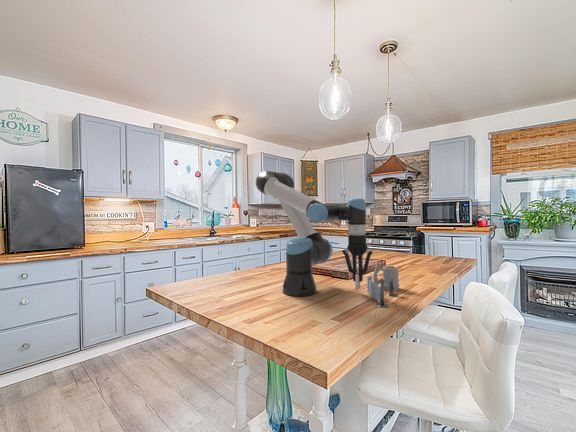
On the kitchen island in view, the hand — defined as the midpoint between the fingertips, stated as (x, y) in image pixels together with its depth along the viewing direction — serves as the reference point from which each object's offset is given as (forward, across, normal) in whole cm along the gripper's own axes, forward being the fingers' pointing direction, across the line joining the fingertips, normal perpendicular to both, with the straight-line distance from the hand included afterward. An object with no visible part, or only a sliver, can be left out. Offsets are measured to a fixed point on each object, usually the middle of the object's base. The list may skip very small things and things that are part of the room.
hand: (357, 288), depth 120 cm
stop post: (+2, +13, +4) cm, 14 cm away
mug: (+2, +10, +14) cm, 17 cm away
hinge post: (+2, +12, -12) cm, 17 cm away
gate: (+2, +8, -4) cm, 9 cm away
